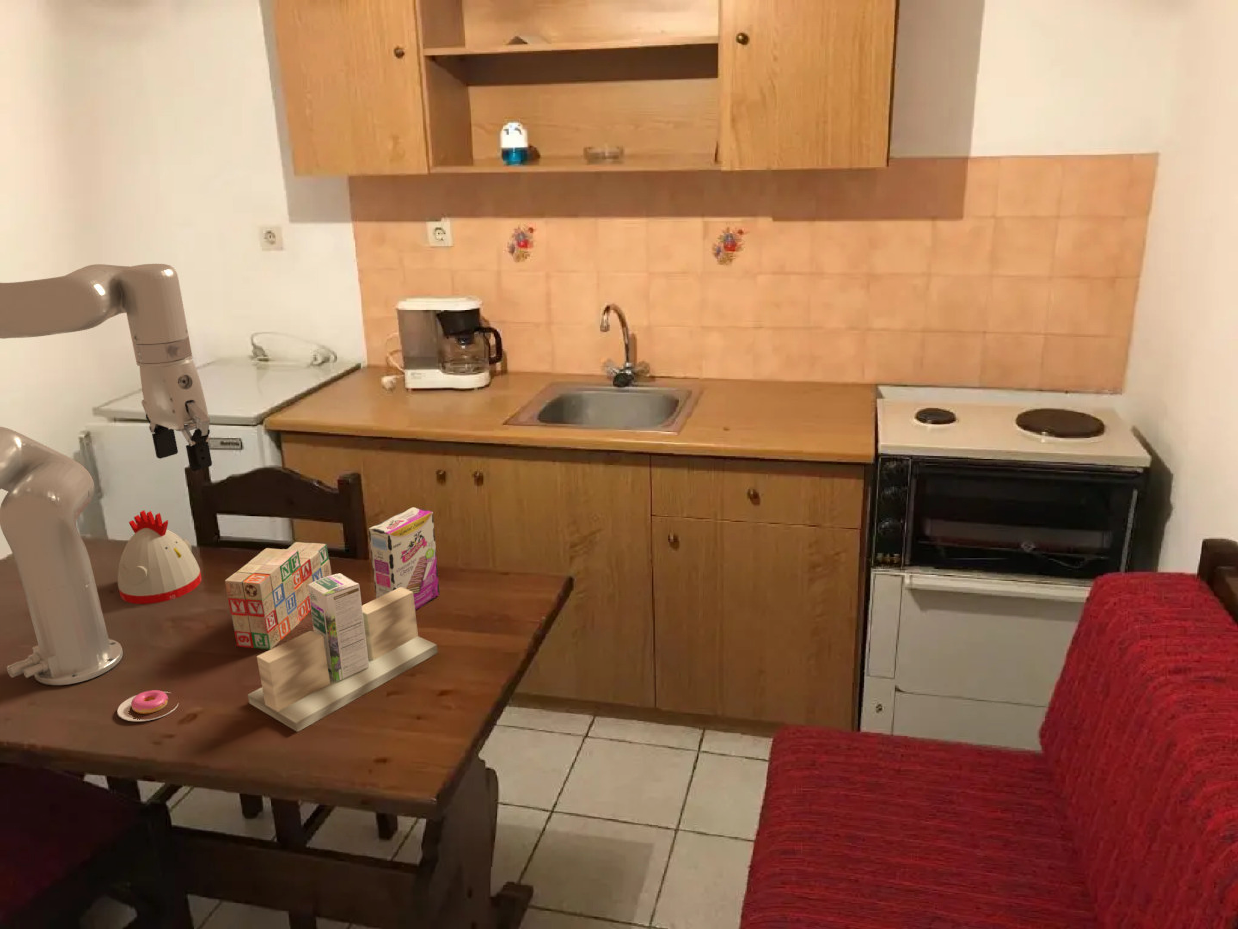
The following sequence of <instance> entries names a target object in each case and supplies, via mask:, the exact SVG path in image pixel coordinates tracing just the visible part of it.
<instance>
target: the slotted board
mask: <svg viewBox="0 0 1238 929" xmlns="http://www.w3.org/2000/svg"><path fill="white" fill-rule="evenodd" d="M362 612H363V621H364V629H365V637H366V645H367V655H368V662H369V667H368V668H366V669H364V670H362V671H360V672H358V673H356V674H353V675H351V676H349V677H347V678H345V679H343V680H340V681H338V682H337V681H336V680H334V679H333V678H331V677H330V676H329V672H328V666H327V659H326V652H325V645H324V639H323V636H322V635H320V634H317V633H315V632H314V630H309V631H306V632H304V633H302V634H300V635H298V636H296V637H294V638H292V639H290V640H287V641H286V642H284V643H280V644H279V645H278V646H274V647H273V648H272V649H268V650H267V651H265V652H262V653H261V654H259V655H257V656H256V659H257V660H256V661H257V666H258V672H259V678H260V682H261V687H259V688H257V689H256V690H254V691H252V692H250V693H248V694H247V698H248V704H250V705H252V706H253V707H255V708H256V709H258V710H260V711H262V712H263V713H265V714H267V715H269V716H270V717H272V718H274V719H275V720H277V721H278V722H280V723H282V724H283V725H285V726H287V727H288V728H290V729H292V730H293V731H295V732H296V733H298V732H300V731H302V730H303V729H306V728H307V727H309V726H312V725H313V724H314V723H316V722H318V721H320V720H321V719H323V718H325V717H327V716H329V715H330V714H332V713H334V712H336V711H338V710H339V709H341V708H342V707H344V706H346V705H349V704H350V703H351V702H354V701H355V700H357V699H359V698H361V697H362V696H364V695H366V694H368V693H369V692H371V691H372V690H373V691H374V690H375V689H377V688H378V687H380V686H382V685H383V684H385V683H386V682H388V681H390V680H393V679H394V678H396V677H398V676H400V675H401V674H403V673H404V672H407V671H408V670H410V669H412V668H413V667H415V666H418V665H419V664H420V663H422V662H425V661H426V660H427V659H429V658H432V657H433V656H434V655H437V654H438V644H436V643H434V642H432V641H430V640H427V639H425V638H423V637H420V635H419V634H418V633H419V631H418V624H417V618H416V610H415V605H414V596H413V592H412V591H410V590H407V589H405V588H402V587H399V588H397V589H395V590H393V591H391V592H389V593H387V594H385V595H383V596H381V597H379V598H377V599H376V598H375V599H373V600H371V601H369V602H366V603H365V604H363V605H362Z"/></svg>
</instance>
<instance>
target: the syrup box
mask: <svg viewBox="0 0 1238 929" xmlns="http://www.w3.org/2000/svg"><path fill="white" fill-rule="evenodd" d="M308 591H309V598H310V606H311V611H310V612H311V620H312V627H313V632H315V633H317V634H320V635H322V636H323V639H324V645H325V652H326V659H327V666H328V672H329V676H330V677H331V678H333V679H334V680H336V681H337V682H338V681H340V680H343V679H345V678H347V677H349V676H351V675H353V674H356V673H358V672H360V671H362V670H364V669H366V668H368V667H369V662H368V655H367V645H366V637H365V629H364V621H363V612H362V597H361V589H360V584H359V583H358V582H355V581H354V580H352V579H351V578H350V577H347V576H346V575H344V574H342V573H335V574H331V575H330V576H327V577H324V578H321V579H319V580H316V581H314V582H312V583H310V584H308Z"/></svg>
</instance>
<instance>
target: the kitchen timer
mask: <svg viewBox="0 0 1238 929" xmlns="http://www.w3.org/2000/svg"><path fill="white" fill-rule="evenodd" d="M133 518H134V519H132V520H130V521H128V523H129V526H130V527H131V529H132V530H133V532H134V534H133V535H132V536H131V537H130V539H129V540H128V541H127V542H126V545H125V547H124V549H123V550H122V553H121V556H120V560H119V563H118V564H119V565H118V572H117V586H118V591H119V595H120V598H121V599H122V600H123V601H124V602H126V603H130V604H138V605H139V604H140V605H147V604H148V605H149V604H158V603H162V602H166V601H167V602H168V601H170V600H175V599H177V598H180V597H183V596H185V595H186V594H188V593H190V592H193V590H195V589H196V588H197V587H198V586H199V585H200V584H201V582H202V572H201V569H200V566H199V564H198V562H197V560H196V558H195V556H194V554H193V553H192V548H193V547H192V545H191V543H190V542H189V541H188V540H187V539H182V538H181V537H180V536H179V535H178V534H176V533H174V532H173V531H171V530H169V529H168V524H169V520H164V521H163V519H162V515H161V513H160V512H159V513H155V516H154V514H153V512H152V511H151V510H149V511H148V512H147V513H146V511H145V510H144V509H143V510H142V511H140V512H139V515H138V514H137V515H135V516H134V517H133Z"/></svg>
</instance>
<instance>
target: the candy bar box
mask: <svg viewBox="0 0 1238 929" xmlns="http://www.w3.org/2000/svg"><path fill="white" fill-rule="evenodd" d="M434 522H435V521H434V512H433V511H431V510H427V509H422V508H418V507H410V508H409V509H406V510H404V511H402V512H400V513H397V514H396V515H393V516H392V517H390V518H388V519H386V520H383V521H382V522H380V523H378V524H375V525H373V526H371V527H369V528H368V536H369V543H370V554H371V562H372V570H373V571H372V572H373V581H374V592H375V599H377V598H379V597H381V596H383V595H385V594H387V593H389V592H391V591H393V590H395V589H397V588H399V587H402V588H405V589H407V590H410V591H412V592H413V596H414V605H415V611H416V610H418V609H419V608H421V607H423V606H424V605H426V604H427V603H430V601H432V600H434V599H436V598H437V597H439V596H440V584H439V573H438V572H439V570H438V560H437V559H438V558H437V551H436V550H437V549H436V535H435V523H434ZM438 595H439V596H438ZM436 596H437V597H436Z"/></svg>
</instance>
